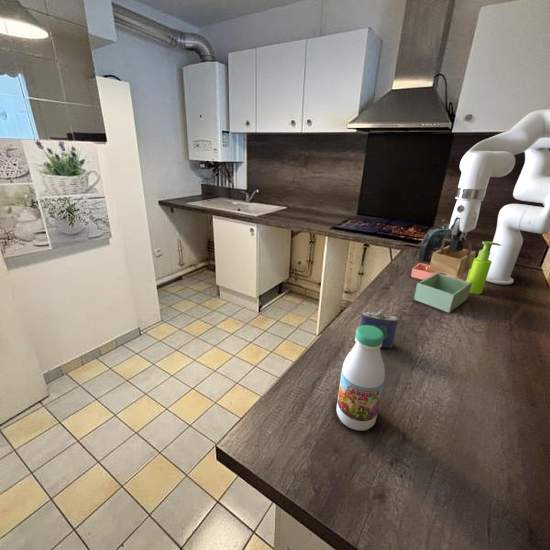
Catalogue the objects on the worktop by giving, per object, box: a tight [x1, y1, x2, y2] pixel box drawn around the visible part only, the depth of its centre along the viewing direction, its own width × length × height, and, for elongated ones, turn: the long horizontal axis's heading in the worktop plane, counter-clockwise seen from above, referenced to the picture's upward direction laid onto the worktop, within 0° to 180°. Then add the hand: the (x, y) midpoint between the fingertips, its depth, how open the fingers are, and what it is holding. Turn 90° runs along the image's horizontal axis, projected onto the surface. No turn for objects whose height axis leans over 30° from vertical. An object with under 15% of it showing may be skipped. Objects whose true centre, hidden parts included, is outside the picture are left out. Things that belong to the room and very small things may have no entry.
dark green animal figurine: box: [418, 218, 452, 262], centre depth 144 cm, size 20×6×20 cm, turn 114°
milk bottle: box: [336, 325, 386, 432], centre depth 54 cm, size 8×8×20 cm
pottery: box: [410, 262, 464, 281], centre depth 120 cm, size 18×10×10 cm, turn 49°
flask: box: [359, 309, 399, 349], centre depth 78 cm, size 9×3×11 cm, turn 74°
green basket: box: [413, 273, 472, 314], centre depth 104 cm, size 16×12×7 cm
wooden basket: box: [429, 238, 477, 277], centre depth 98 cm, size 13×9×10 cm
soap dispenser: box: [465, 241, 500, 295], centre depth 109 cm, size 6×7×20 cm
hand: (455, 250), depth 98 cm, fingers closed on wooden basket, 1 cm apart
